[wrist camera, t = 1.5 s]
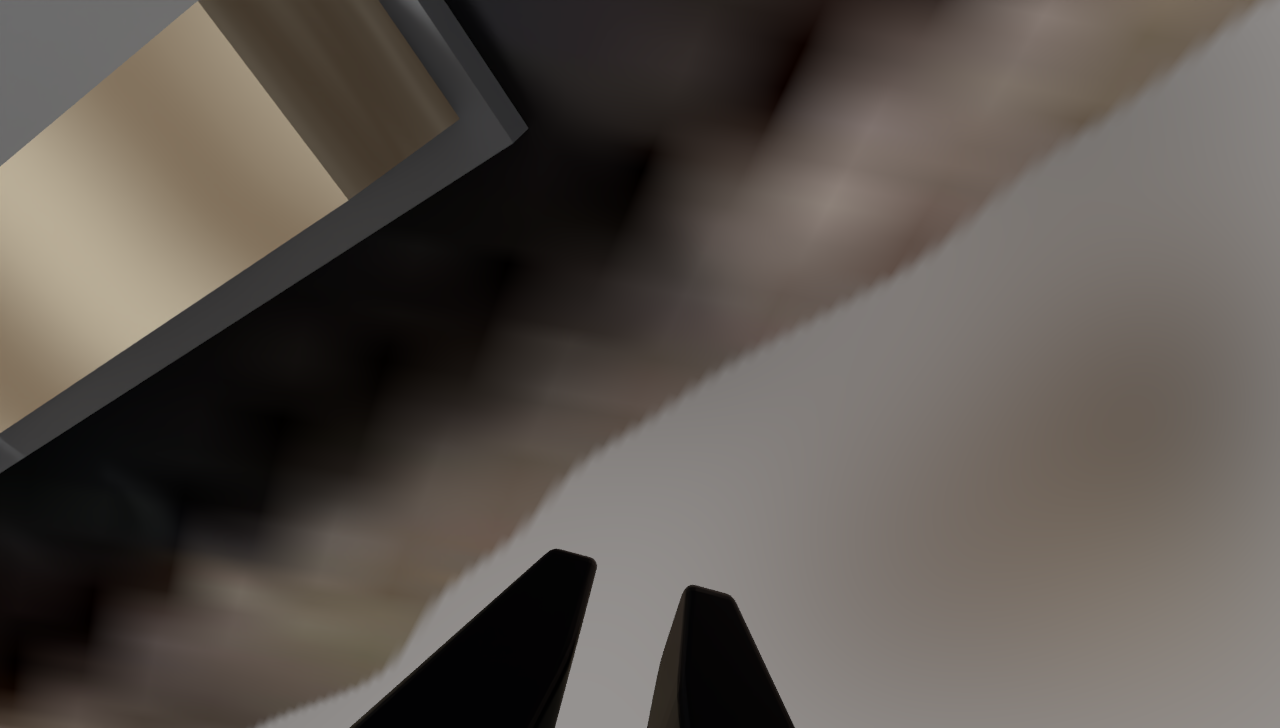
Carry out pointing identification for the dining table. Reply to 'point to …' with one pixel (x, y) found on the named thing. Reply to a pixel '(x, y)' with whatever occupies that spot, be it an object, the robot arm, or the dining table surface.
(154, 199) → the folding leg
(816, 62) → the dining table surface
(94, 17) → the dark grey flat piece
